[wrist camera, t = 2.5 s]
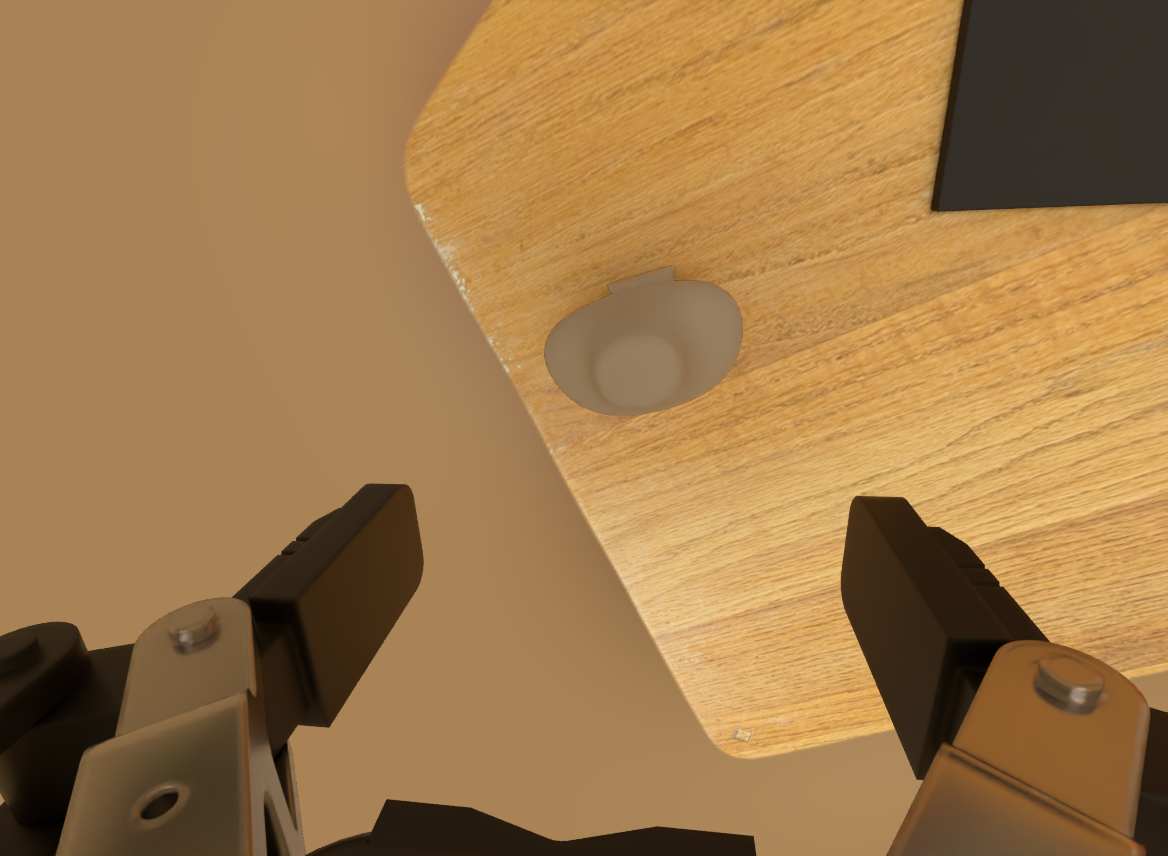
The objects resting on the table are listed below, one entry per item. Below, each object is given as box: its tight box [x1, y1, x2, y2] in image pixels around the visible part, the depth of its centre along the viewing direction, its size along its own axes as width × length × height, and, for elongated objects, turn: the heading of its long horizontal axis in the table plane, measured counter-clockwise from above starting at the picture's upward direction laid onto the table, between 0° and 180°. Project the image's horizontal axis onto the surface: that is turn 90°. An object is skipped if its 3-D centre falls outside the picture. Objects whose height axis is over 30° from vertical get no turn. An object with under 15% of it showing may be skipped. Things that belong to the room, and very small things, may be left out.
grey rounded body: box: [544, 266, 743, 416], centre depth 25 cm, size 8×5×12 cm
